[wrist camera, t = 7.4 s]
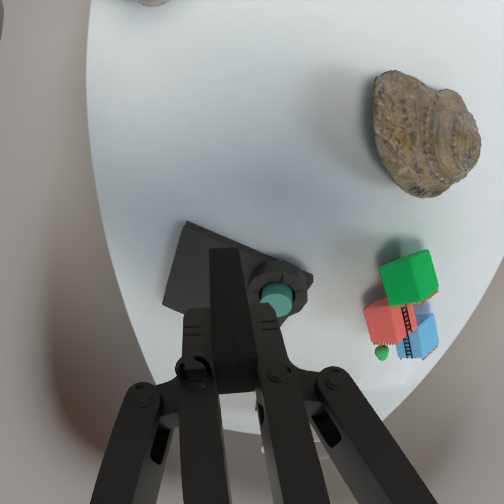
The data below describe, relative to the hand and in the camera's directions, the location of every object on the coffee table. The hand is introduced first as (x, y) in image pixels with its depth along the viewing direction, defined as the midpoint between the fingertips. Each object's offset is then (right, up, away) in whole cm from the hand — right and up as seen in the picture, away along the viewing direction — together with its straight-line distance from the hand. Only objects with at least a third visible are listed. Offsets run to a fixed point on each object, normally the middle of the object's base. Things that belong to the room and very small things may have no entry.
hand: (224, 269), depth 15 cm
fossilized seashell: (+16, +12, +4) cm, 20 cm away
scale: (-1, -3, +16) cm, 17 cm away
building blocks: (+19, -3, +13) cm, 23 cm away
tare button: (+4, -3, +12) cm, 13 cm away
